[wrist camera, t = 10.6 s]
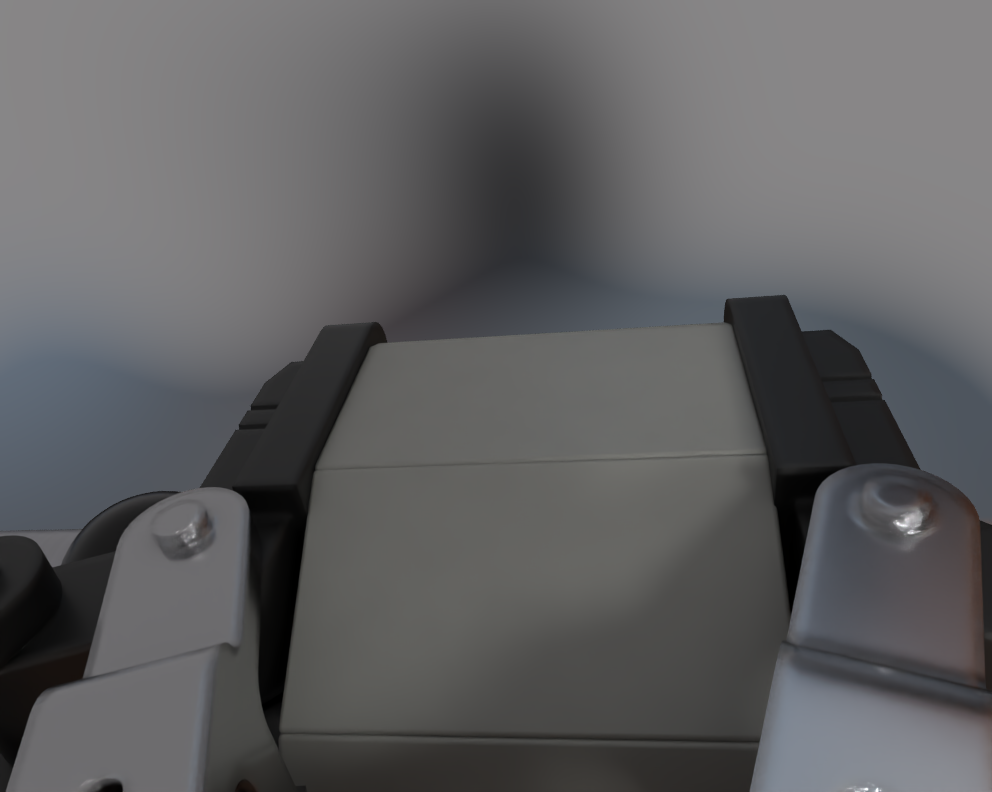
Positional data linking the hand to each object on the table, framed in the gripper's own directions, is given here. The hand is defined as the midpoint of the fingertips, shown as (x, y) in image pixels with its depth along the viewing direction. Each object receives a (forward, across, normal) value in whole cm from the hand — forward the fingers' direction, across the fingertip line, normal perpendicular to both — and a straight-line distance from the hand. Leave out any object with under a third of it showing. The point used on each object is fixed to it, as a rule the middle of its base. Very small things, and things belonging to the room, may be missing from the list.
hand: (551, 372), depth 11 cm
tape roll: (-2, 0, +9) cm, 9 cm away
